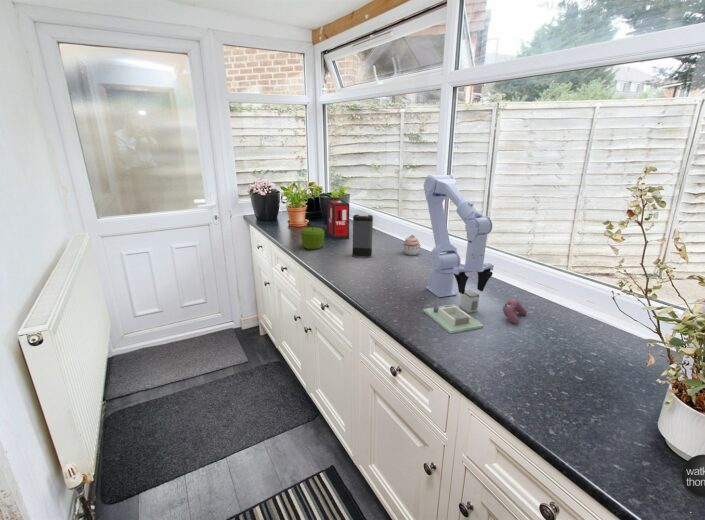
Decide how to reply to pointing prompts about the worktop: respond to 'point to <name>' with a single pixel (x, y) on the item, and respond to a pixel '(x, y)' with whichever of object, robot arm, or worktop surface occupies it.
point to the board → (452, 318)
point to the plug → (469, 301)
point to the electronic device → (362, 236)
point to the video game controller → (513, 310)
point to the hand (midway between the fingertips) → (470, 291)
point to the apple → (312, 237)
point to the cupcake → (411, 245)
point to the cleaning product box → (338, 219)
